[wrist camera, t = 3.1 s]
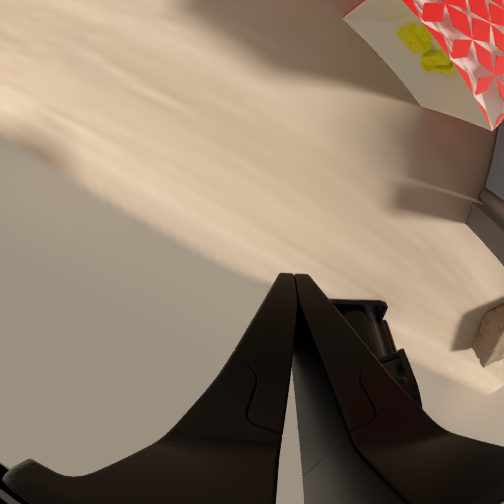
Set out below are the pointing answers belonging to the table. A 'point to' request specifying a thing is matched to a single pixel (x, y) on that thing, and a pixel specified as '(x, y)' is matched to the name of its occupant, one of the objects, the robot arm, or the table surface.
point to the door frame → (488, 229)
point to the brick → (490, 337)
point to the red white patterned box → (441, 52)
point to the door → (496, 177)
